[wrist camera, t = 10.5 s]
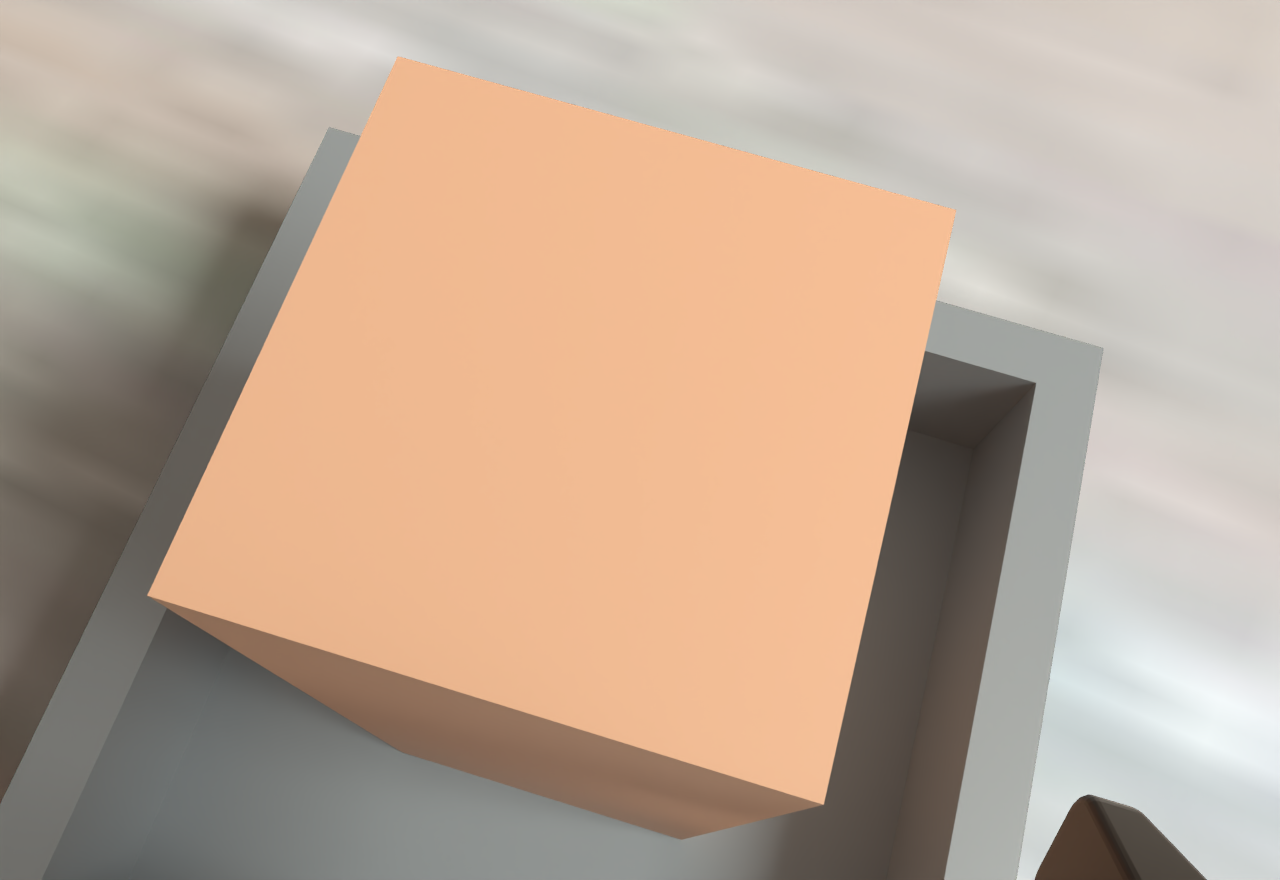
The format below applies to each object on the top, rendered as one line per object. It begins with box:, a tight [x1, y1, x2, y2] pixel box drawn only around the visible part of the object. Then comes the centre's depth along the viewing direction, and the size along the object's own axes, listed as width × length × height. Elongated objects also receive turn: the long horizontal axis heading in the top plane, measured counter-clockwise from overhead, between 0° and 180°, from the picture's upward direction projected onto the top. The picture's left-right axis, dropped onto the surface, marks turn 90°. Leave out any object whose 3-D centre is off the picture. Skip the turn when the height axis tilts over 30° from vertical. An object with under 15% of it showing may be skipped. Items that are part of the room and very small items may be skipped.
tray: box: [0, 127, 1103, 880], centre depth 19 cm, size 14×14×4 cm
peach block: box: [147, 57, 956, 840], centre depth 14 cm, size 5×5×12 cm
